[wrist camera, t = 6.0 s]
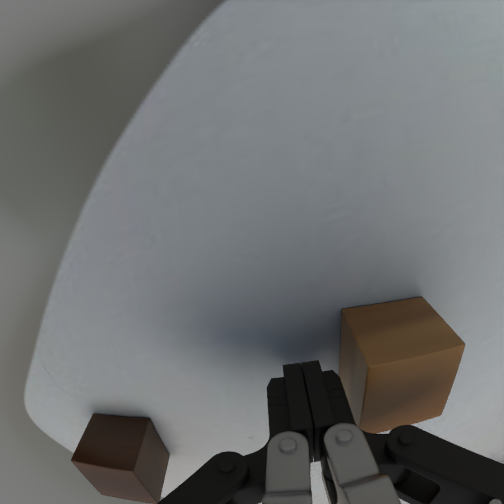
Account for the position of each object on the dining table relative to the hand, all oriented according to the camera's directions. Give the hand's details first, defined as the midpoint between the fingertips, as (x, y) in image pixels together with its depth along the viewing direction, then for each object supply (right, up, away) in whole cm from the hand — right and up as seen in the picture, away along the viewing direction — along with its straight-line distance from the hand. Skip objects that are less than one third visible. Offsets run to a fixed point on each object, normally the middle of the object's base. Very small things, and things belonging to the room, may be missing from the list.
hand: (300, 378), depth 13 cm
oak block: (+4, +1, +1) cm, 4 cm away
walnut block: (-9, -6, +4) cm, 12 cm away
